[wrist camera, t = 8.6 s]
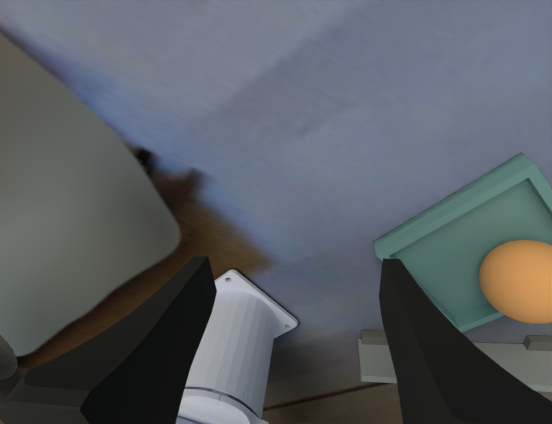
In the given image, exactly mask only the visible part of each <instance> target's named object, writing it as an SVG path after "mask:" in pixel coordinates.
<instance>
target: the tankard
mask: <svg viewBox="0 0 552 424" xmlns="http://www.w3.org/2000/svg"><path fill="white" fill-rule="evenodd" d="M17 366H18V364H17V358H16V355H15V353H14V351H13V349H12V348H11V347H10V345H9V344H8V343H7V341H6V340H5V339H4V338H2V336H1V335H0V380H3V379H7V378H9V377H11V376H12V375H13V374H14V373H15V372H16V370H17Z"/></svg>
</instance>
